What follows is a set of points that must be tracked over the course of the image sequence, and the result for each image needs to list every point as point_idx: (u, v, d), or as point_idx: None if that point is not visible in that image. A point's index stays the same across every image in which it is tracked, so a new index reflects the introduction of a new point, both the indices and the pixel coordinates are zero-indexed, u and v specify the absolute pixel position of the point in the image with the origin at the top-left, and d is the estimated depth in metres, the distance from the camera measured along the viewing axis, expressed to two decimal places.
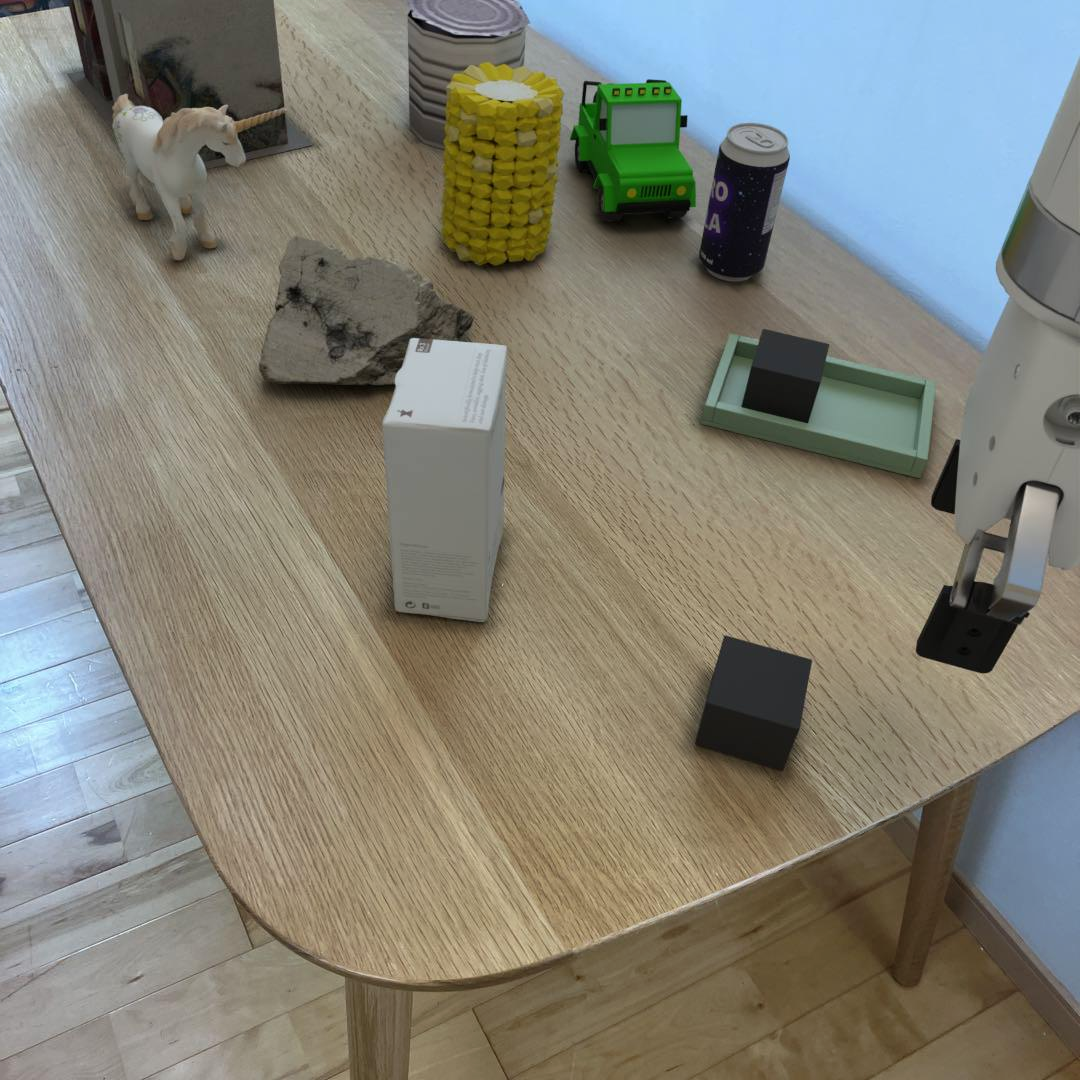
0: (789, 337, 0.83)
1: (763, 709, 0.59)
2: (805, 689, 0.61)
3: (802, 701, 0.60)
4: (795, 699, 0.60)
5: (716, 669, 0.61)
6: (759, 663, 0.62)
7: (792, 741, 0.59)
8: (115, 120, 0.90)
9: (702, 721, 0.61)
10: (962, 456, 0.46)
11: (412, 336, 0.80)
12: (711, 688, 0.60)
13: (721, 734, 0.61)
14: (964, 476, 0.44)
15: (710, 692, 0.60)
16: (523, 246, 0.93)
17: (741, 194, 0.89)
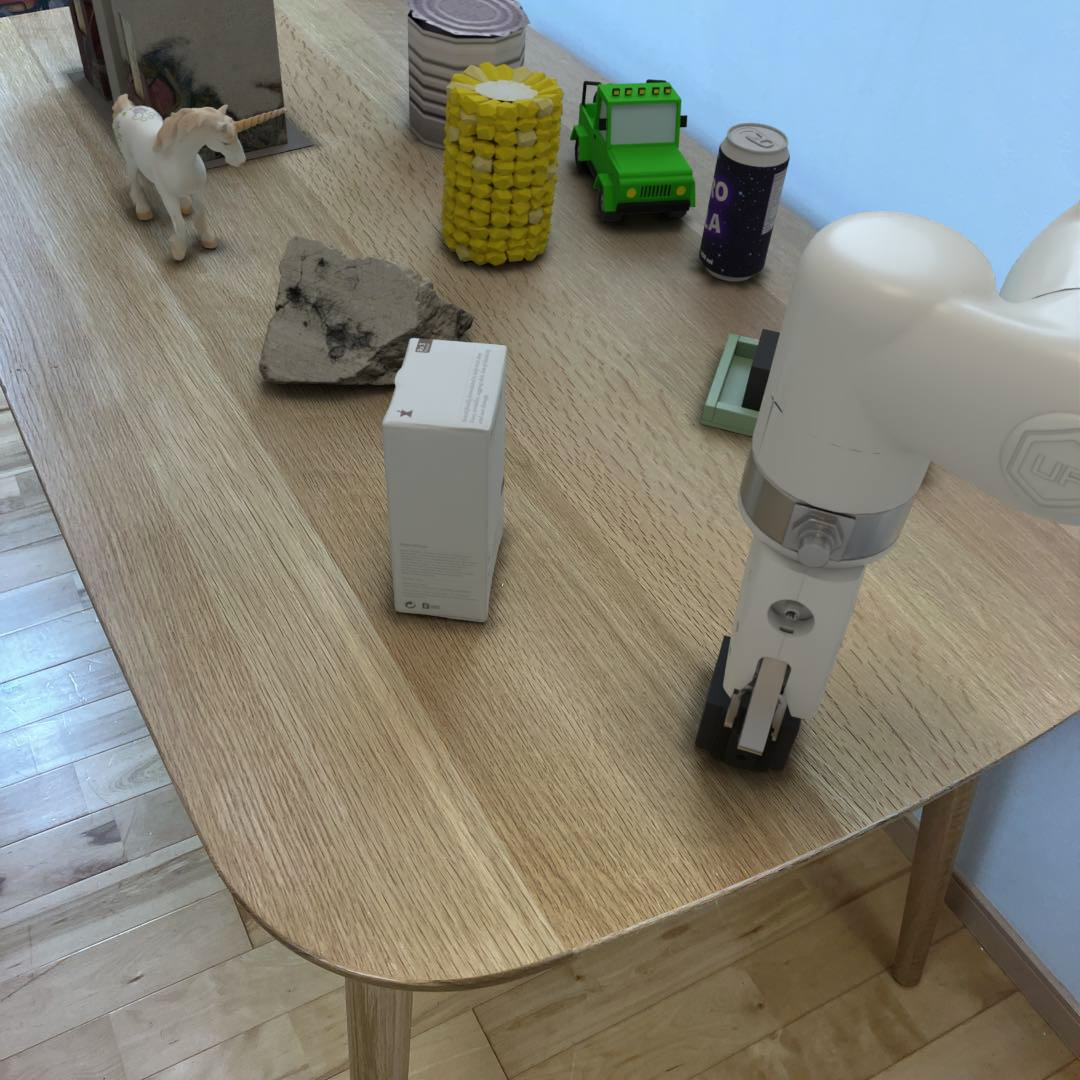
0: None
1: None
2: None
3: None
4: None
5: (716, 669, 0.61)
6: None
7: (792, 741, 0.59)
8: (115, 120, 0.90)
9: (702, 721, 0.61)
10: None
11: (412, 336, 0.80)
12: (711, 688, 0.60)
13: None
14: None
15: (710, 692, 0.60)
16: (523, 246, 0.93)
17: (741, 194, 0.89)
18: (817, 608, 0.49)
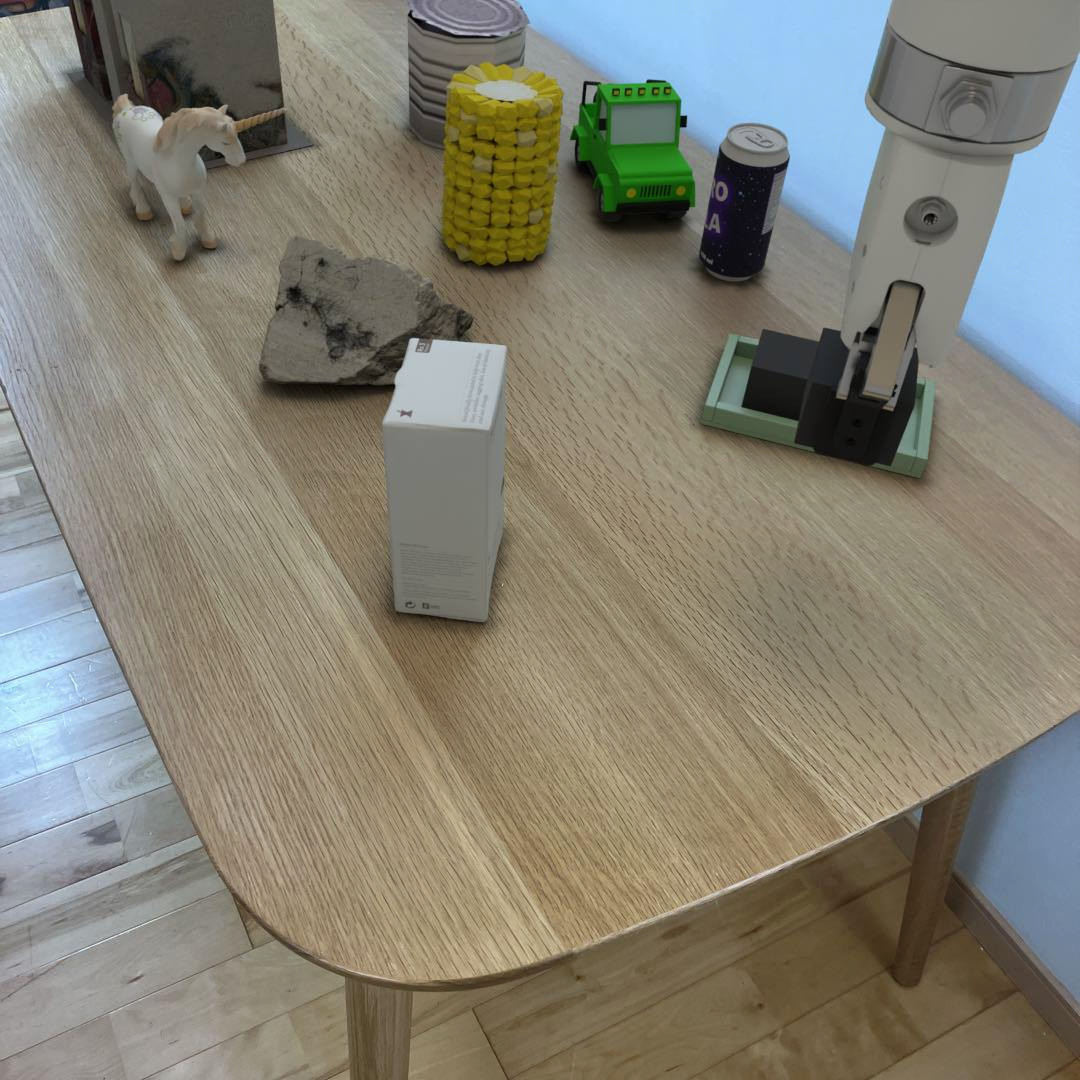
0: (789, 337, 0.83)
1: None
2: (916, 372, 0.56)
3: (914, 382, 0.55)
4: (906, 380, 0.55)
5: (819, 355, 0.56)
6: None
7: (905, 423, 0.55)
8: (115, 120, 0.90)
9: (805, 409, 0.56)
10: (848, 278, 0.52)
11: (412, 336, 0.80)
12: (816, 370, 0.55)
13: None
14: (847, 291, 0.51)
15: (815, 373, 0.55)
16: (523, 246, 0.93)
17: (741, 194, 0.89)
18: (962, 203, 0.45)
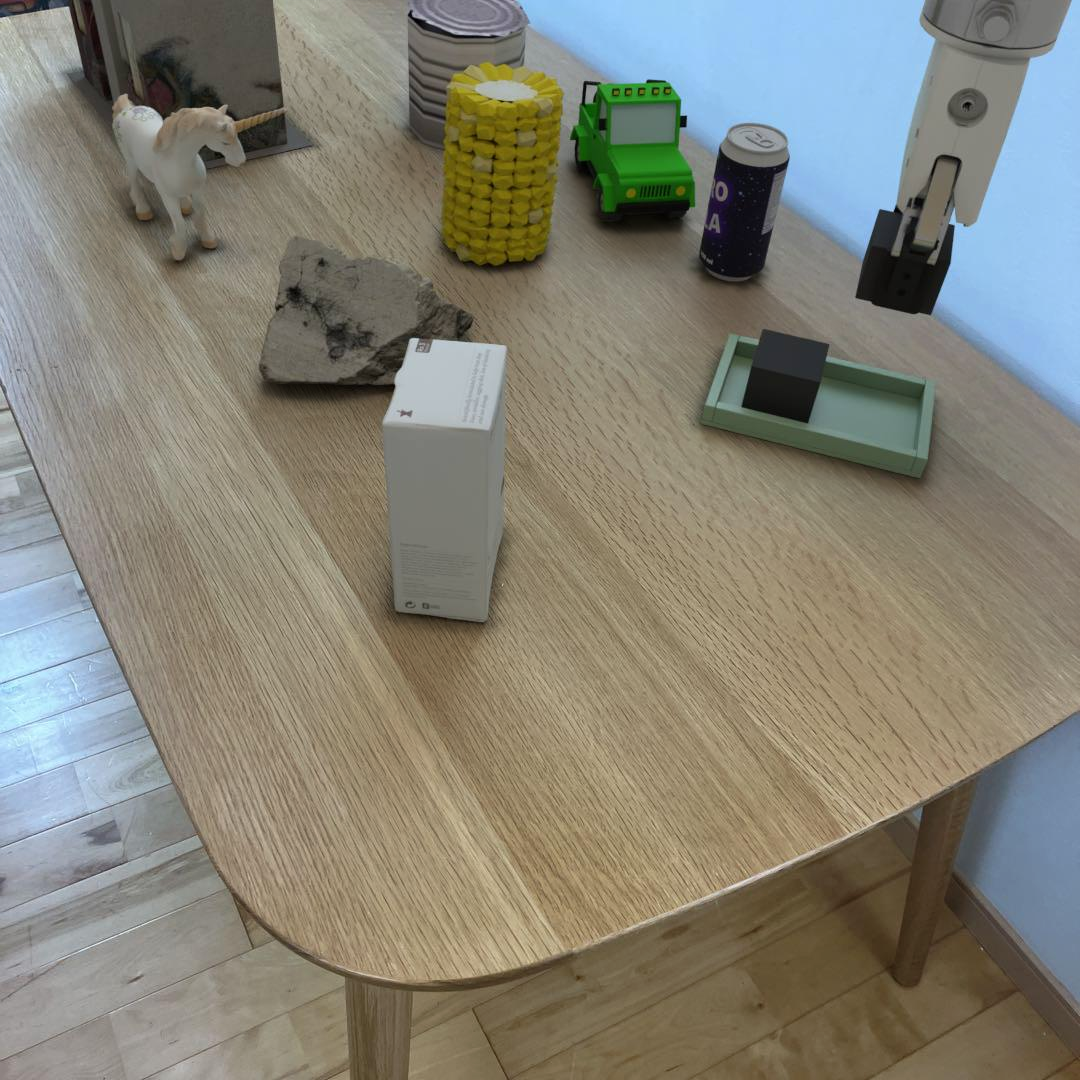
0: (789, 337, 0.83)
1: None
2: (952, 241, 0.72)
3: (950, 247, 0.72)
4: (944, 246, 0.72)
5: (876, 227, 0.73)
6: (911, 225, 0.73)
7: (943, 278, 0.71)
8: (115, 120, 0.90)
9: (865, 268, 0.72)
10: None
11: (412, 336, 0.80)
12: (874, 237, 0.72)
13: None
14: (902, 169, 0.67)
15: (874, 240, 0.72)
16: (523, 246, 0.93)
17: (741, 194, 0.89)
18: (991, 93, 0.61)
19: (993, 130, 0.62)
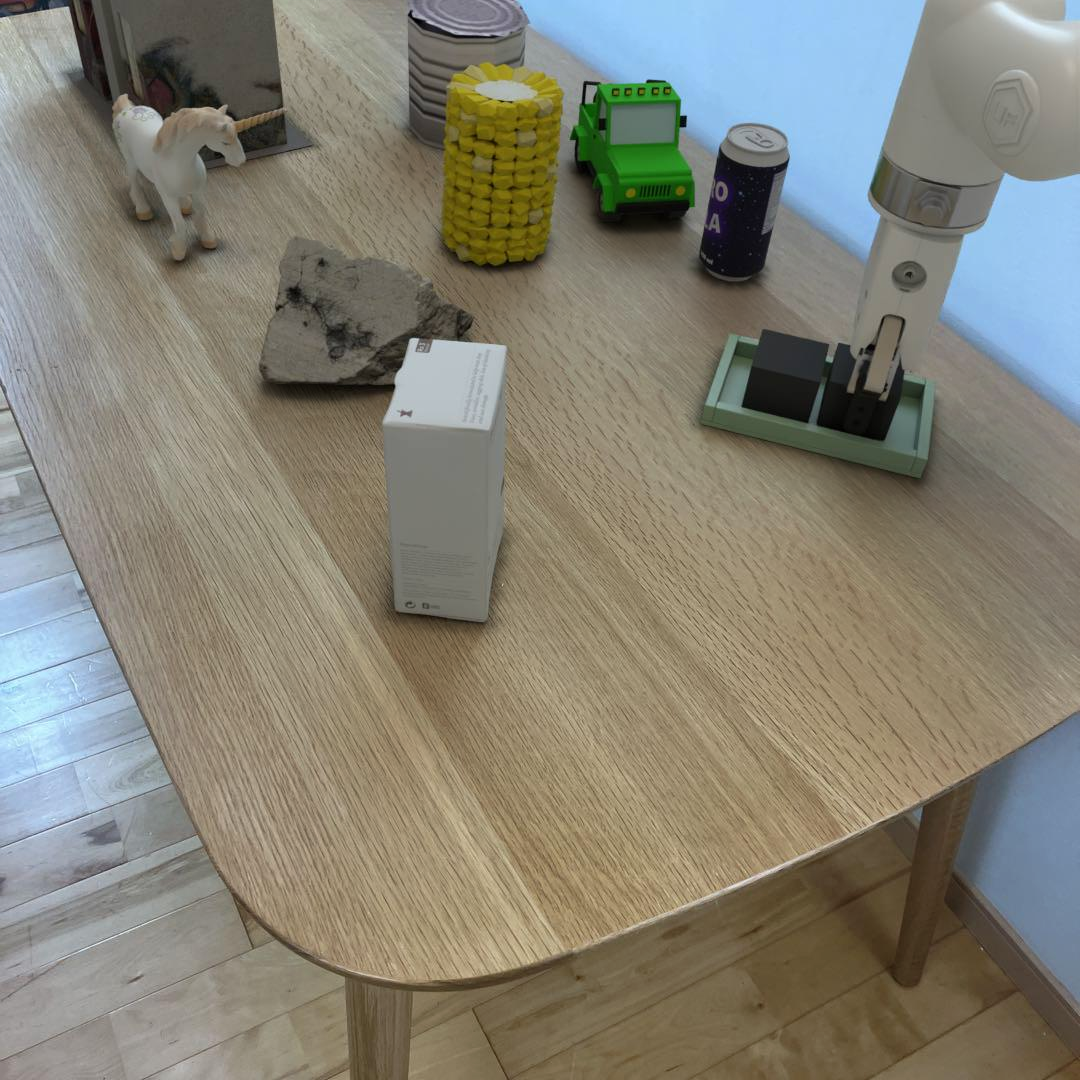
0: (789, 337, 0.83)
1: None
2: (903, 375, 0.80)
3: (901, 382, 0.79)
4: (895, 380, 0.79)
5: (835, 362, 0.81)
6: None
7: (894, 410, 0.79)
8: (115, 120, 0.90)
9: (824, 400, 0.80)
10: None
11: (412, 336, 0.80)
12: (832, 373, 0.80)
13: None
14: (855, 319, 0.75)
15: (832, 375, 0.79)
16: (523, 246, 0.93)
17: (741, 194, 0.89)
18: (929, 266, 0.69)
19: (932, 296, 0.70)
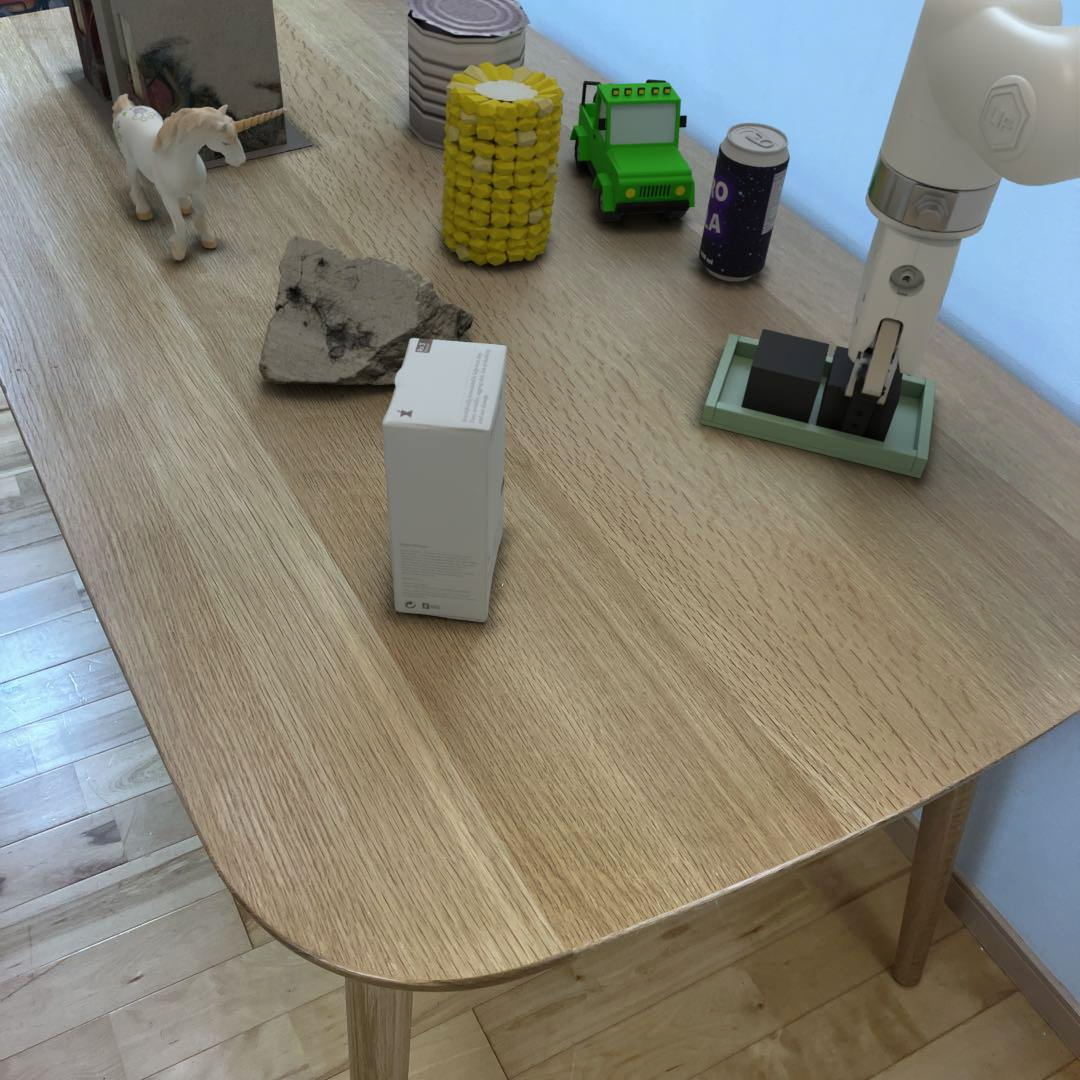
0: (789, 337, 0.83)
1: None
2: (901, 377, 0.80)
3: (899, 384, 0.80)
4: (894, 383, 0.80)
5: (833, 365, 0.81)
6: None
7: (893, 412, 0.79)
8: (115, 120, 0.90)
9: (823, 403, 0.80)
10: None
11: (412, 336, 0.80)
12: (830, 376, 0.80)
13: None
14: (853, 323, 0.75)
15: (830, 378, 0.80)
16: (523, 246, 0.93)
17: (741, 194, 0.89)
18: (927, 270, 0.69)
19: (930, 299, 0.70)
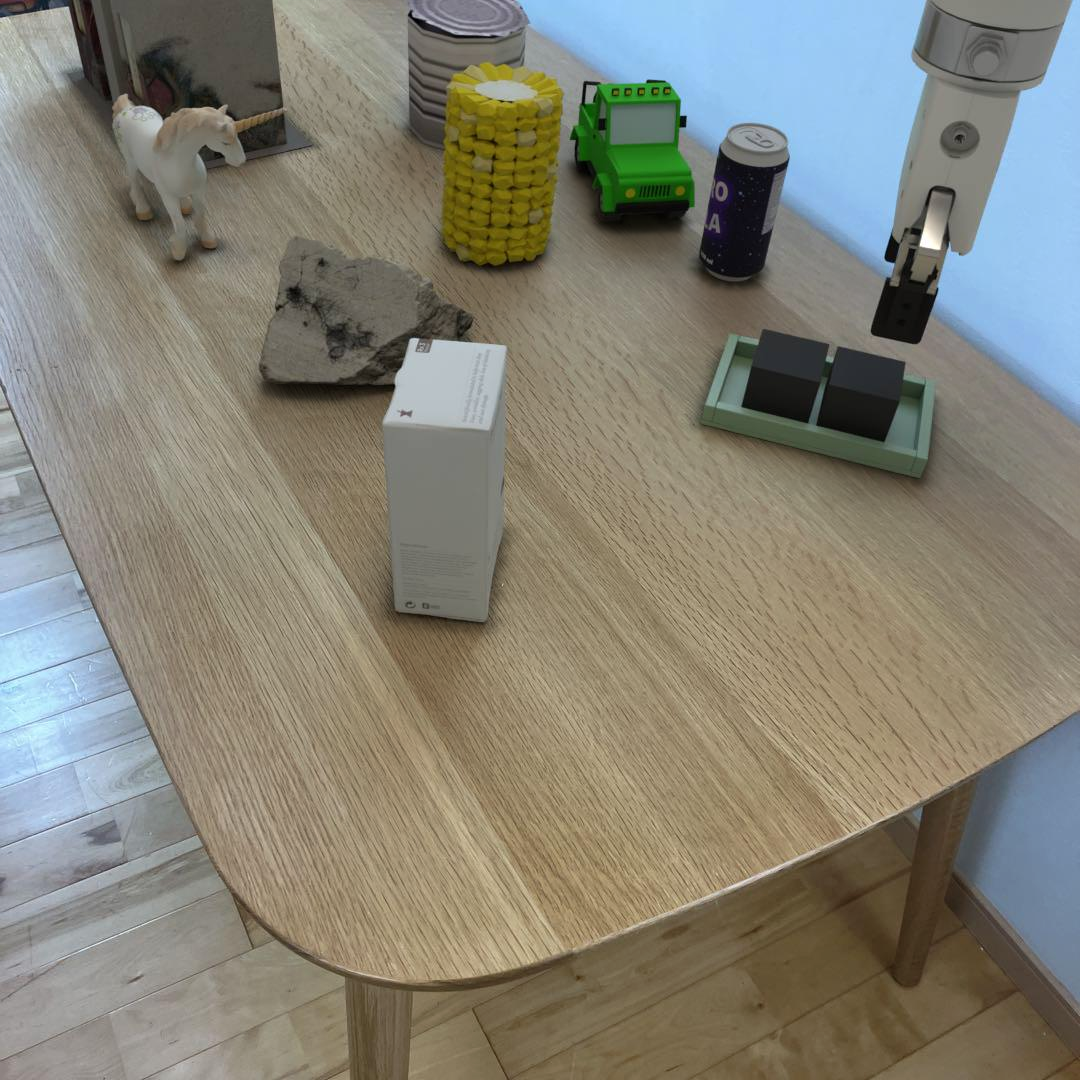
0: (789, 337, 0.83)
1: (872, 389, 0.79)
2: (902, 378, 0.80)
3: (900, 385, 0.80)
4: (895, 384, 0.80)
5: (834, 365, 0.81)
6: (866, 363, 0.81)
7: (893, 413, 0.79)
8: (115, 120, 0.90)
9: (824, 403, 0.80)
10: None
11: (412, 336, 0.80)
12: (831, 376, 0.80)
13: (837, 414, 0.81)
14: (897, 200, 0.68)
15: (831, 378, 0.80)
16: (523, 246, 0.93)
17: (741, 194, 0.89)
18: (983, 126, 0.62)
19: (985, 161, 0.63)
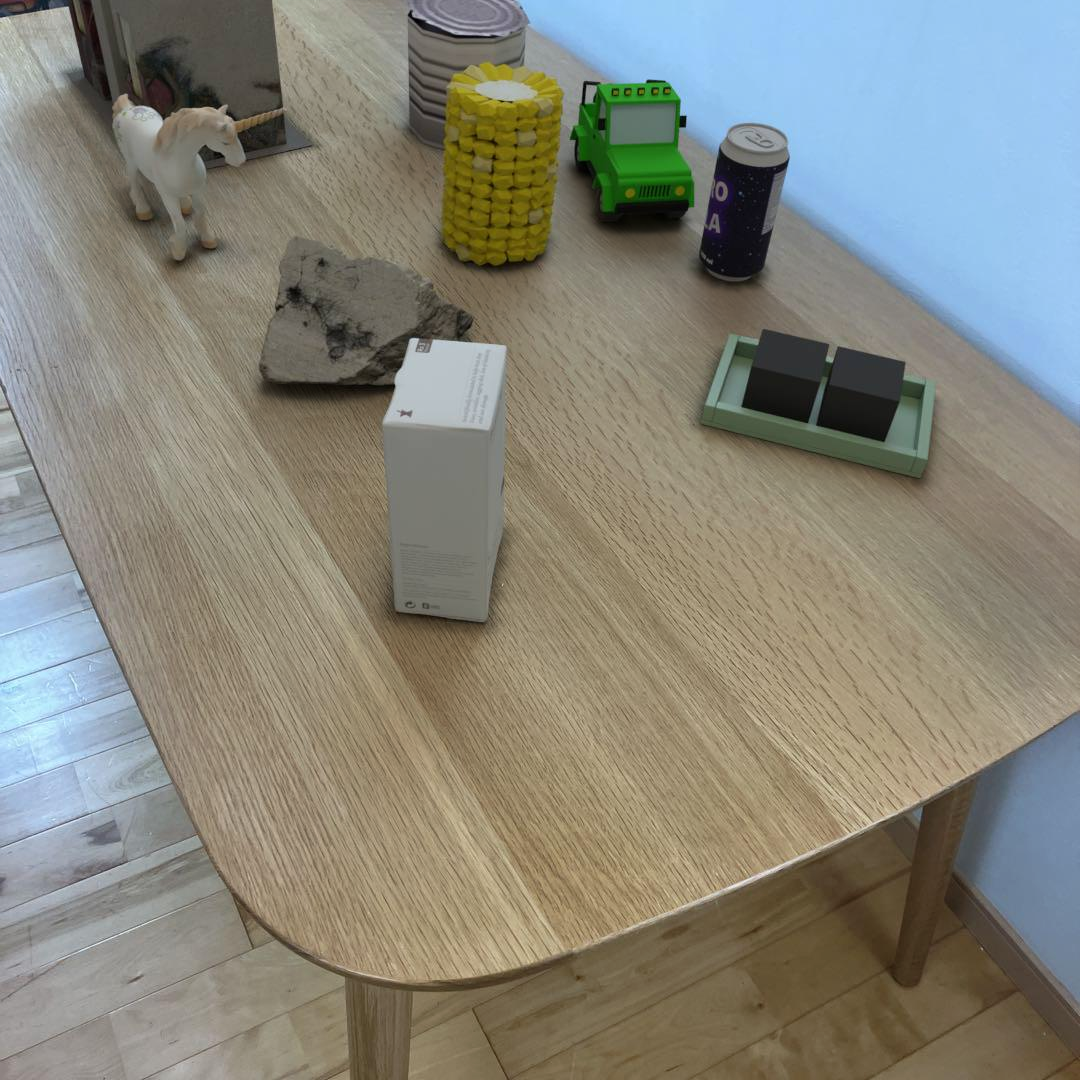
0: (789, 337, 0.83)
1: (872, 389, 0.79)
2: (902, 378, 0.80)
3: (900, 385, 0.80)
4: (895, 384, 0.80)
5: (834, 365, 0.81)
6: (866, 363, 0.81)
7: (893, 413, 0.79)
8: (115, 120, 0.90)
9: (824, 403, 0.80)
10: None
11: (412, 336, 0.80)
12: (831, 376, 0.80)
13: (837, 414, 0.81)
14: None
15: (831, 378, 0.80)
16: (523, 246, 0.93)
17: (741, 194, 0.89)
18: None
19: None
